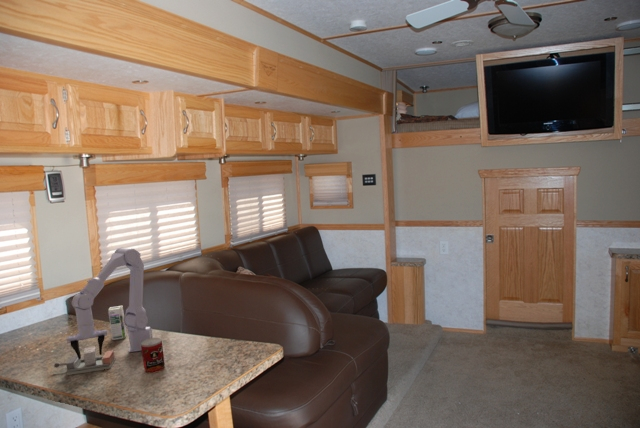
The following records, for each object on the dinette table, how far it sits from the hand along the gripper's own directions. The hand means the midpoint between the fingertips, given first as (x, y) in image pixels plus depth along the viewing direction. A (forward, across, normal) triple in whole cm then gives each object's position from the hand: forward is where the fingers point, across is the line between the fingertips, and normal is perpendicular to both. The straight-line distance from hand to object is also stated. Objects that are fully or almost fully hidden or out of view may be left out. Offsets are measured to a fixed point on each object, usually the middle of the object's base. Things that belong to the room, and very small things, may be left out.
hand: (90, 356), depth 201 cm
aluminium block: (+3, 0, 0) cm, 4 cm away
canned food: (+5, -23, +17) cm, 29 cm away
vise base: (+4, +3, -1) cm, 5 cm away
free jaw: (+3, -6, +1) cm, 7 cm away
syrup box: (+5, -10, -32) cm, 34 cm away
